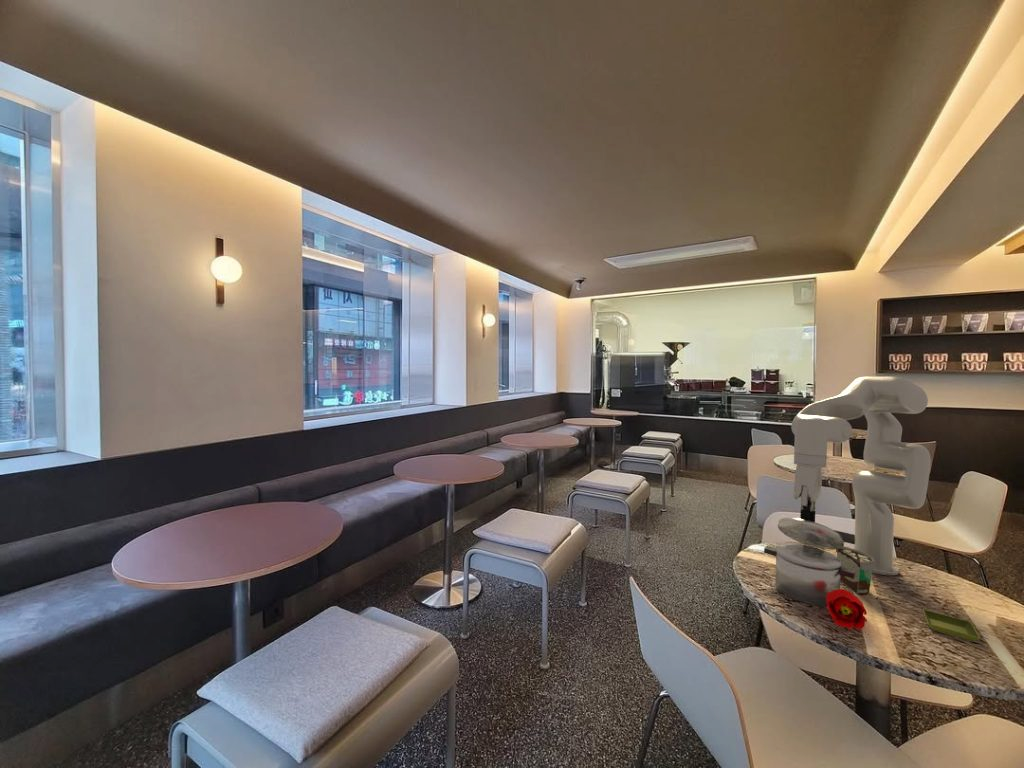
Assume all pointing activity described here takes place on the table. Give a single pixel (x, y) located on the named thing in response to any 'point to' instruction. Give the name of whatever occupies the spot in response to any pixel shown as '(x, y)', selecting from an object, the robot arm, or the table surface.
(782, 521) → the cooker lid
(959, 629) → the green shallow tray
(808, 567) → the cooker pot
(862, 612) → the flower
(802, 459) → the robot arm
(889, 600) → the table surface
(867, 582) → the food container
